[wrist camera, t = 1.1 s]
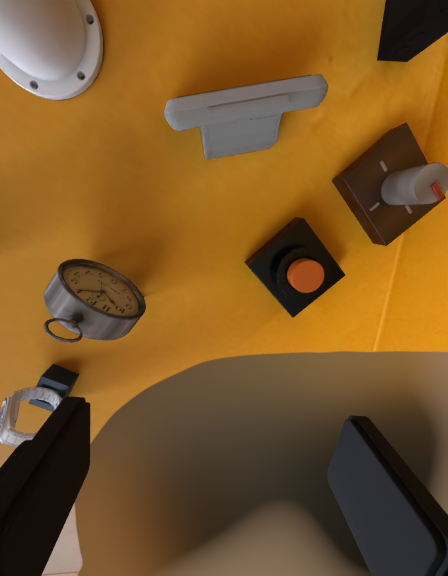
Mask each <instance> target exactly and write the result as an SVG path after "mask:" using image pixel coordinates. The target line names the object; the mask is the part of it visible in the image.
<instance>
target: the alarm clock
mask: <svg viewBox="0 0 448 576" xmlns="http://www.w3.org/2000/svg"><path fill="white" fill-rule="evenodd" d="M44 301H45V305H46V307H47V309H48V311H49V313H50V314H51V315H52V316H53V318H54V319H50V320H47V321H46V322H45V324H44V329H45V332H46V333H47V334H48V335H49V336H50V337H52V338H54V339H56V340H59V341H62V342H67V343H72V342H77V341H79V340H80V339H81V338H82V336H83V337H86V338H89V339H94V340H102V341H107V340H115V339H118V338H121V337H123V336H125V335H126V334H127V333H129V332H130V330H131V329H132V328H133V326H134V325H135V324H136V322H137V321H138V320H139V319H140V317H141V316H142V315H143V314H144V312H145V309H146V304H145V300H144V296H142V294H141V292H140V291H139V290H138V289H137V287H136V286H135V285H134V284H133V283H132V282H131V281H130V280H128V279H127V278H126V277H124V276H123V275H121V274H120V273H118V272H117V271H115V270H113V269H111V268H109V267H107V266H105V265H102V264H100V263H96V262H93V261H90V260H85V259H72V260H67V261H65V262H63V263H62V264H60V266H59V267H58V270H57V271H56V273H55V275H54V276H53V278H52V279H51V281H50V283H49V284H48V286H47V287H46V289H45V292H44ZM53 321H57V322H58V323H60V324H61V325H62V326H63V327H65V328H66V329H68V330H70V331H71V332H73V333H75V334H78V335H79V337H78V338H76V339H64V338H61V337H58V336H56V335H54V334H53V333H52V332H51V331H50V330H49V328H48V324H49V323H50V322H53Z"/></svg>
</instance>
